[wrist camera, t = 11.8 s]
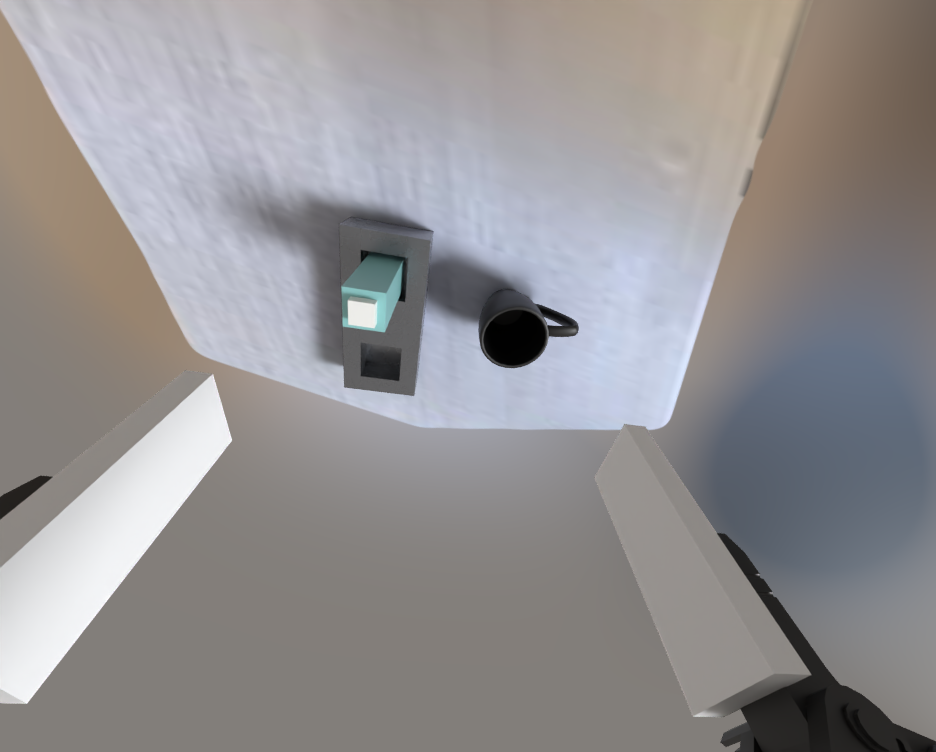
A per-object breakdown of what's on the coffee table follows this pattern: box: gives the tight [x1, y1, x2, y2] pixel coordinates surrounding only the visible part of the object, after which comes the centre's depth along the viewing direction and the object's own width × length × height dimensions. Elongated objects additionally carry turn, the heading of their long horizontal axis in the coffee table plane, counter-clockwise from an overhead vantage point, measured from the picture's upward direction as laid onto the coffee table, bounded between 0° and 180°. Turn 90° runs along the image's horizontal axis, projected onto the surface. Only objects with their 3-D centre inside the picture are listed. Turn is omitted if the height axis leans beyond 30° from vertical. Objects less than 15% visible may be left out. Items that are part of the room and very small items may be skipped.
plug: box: [341, 252, 406, 332], centre depth 37 cm, size 4×4×15 cm
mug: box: [479, 289, 579, 368], centre depth 44 cm, size 8×12×10 cm
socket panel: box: [339, 217, 433, 396], centre depth 46 cm, size 22×10×5 cm, turn 170°
